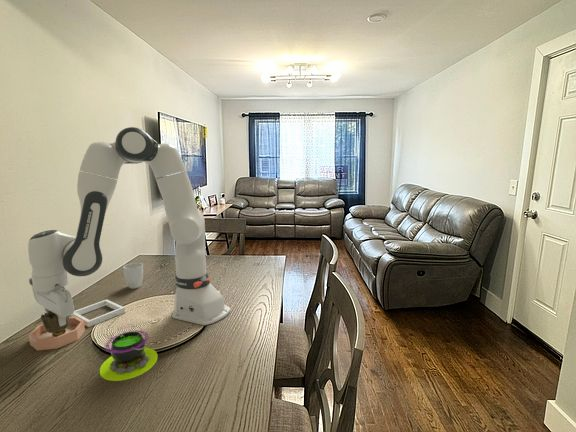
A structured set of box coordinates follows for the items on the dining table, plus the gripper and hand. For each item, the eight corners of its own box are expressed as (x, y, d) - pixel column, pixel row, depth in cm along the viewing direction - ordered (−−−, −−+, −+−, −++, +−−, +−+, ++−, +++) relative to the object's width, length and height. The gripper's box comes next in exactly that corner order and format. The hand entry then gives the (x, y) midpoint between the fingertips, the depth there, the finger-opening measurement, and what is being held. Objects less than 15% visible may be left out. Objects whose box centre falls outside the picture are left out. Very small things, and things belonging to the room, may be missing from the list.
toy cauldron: (166, 363, 90) (163, 328, 88) (108, 389, 80) (103, 350, 78) (146, 342, 101) (143, 310, 99) (93, 362, 91) (89, 327, 89)
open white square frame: (124, 312, 120) (124, 307, 120) (88, 327, 109) (88, 322, 109) (107, 303, 127) (106, 299, 127) (71, 317, 116) (70, 312, 116)
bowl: (91, 334, 105) (89, 324, 105) (42, 354, 94) (41, 344, 93) (72, 322, 113) (70, 313, 112) (25, 340, 101) (23, 330, 101)
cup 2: (40, 343, 98) (35, 318, 97) (51, 333, 105) (46, 310, 104) (68, 337, 100) (63, 313, 99) (76, 328, 107) (72, 305, 106)
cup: (148, 283, 148) (146, 263, 147) (138, 290, 140) (136, 269, 139) (131, 282, 149) (130, 262, 147) (121, 289, 141) (119, 268, 139)
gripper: (77, 285, 97) (82, 326, 99) (49, 272, 108) (54, 309, 110) (53, 292, 92) (59, 335, 94) (26, 278, 103) (32, 317, 105)
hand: (56, 321), depth 102 cm, fingers closed on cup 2, 7 cm apart
